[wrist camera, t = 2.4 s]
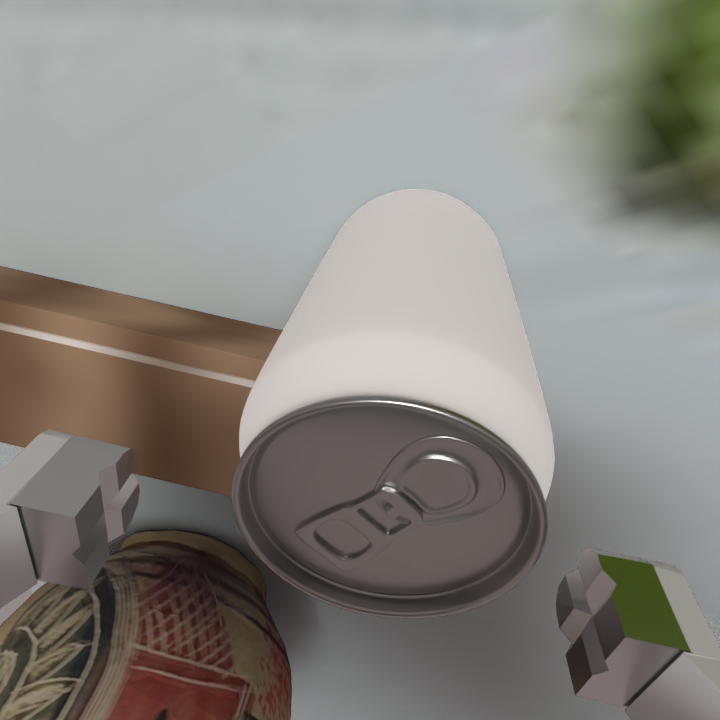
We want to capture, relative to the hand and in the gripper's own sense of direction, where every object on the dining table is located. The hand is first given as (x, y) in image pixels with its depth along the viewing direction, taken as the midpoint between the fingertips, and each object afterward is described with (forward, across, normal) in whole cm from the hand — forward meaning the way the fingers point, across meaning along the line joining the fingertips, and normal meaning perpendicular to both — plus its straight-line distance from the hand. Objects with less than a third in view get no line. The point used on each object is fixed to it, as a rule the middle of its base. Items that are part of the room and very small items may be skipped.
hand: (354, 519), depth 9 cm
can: (+12, -1, 0) cm, 12 cm away
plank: (+12, +8, +8) cm, 16 cm away
